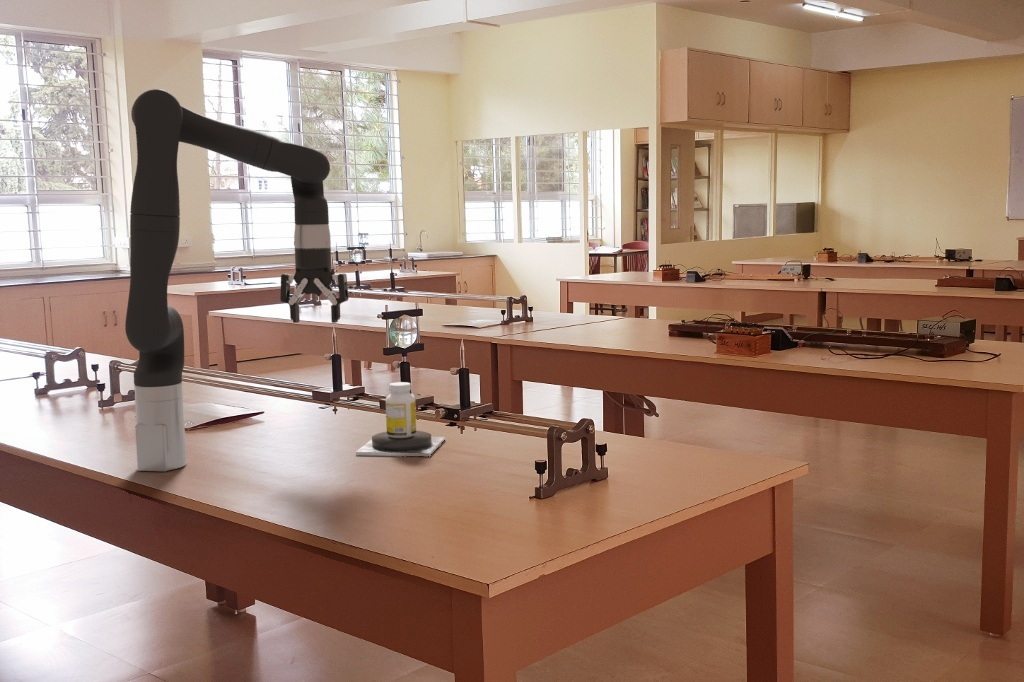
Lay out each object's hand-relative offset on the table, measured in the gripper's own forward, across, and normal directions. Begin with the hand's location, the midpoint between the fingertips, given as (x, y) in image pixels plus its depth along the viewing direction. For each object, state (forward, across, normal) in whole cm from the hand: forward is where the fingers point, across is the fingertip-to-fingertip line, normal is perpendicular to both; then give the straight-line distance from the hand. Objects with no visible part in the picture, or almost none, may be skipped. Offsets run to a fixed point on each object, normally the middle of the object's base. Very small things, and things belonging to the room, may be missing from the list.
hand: (315, 322), depth 213 cm
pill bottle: (+26, -17, -6) cm, 31 cm away
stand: (+28, -17, -5) cm, 33 cm away
